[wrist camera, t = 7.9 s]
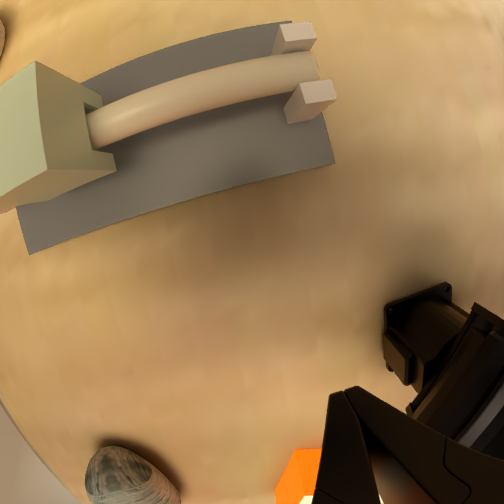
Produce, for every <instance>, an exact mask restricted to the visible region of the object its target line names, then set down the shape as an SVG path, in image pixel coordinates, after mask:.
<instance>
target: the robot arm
mask: <svg viewBox="0 0 504 504" xmlns="http://www.w3.org/2000/svg"><path fill="white" fill-rule="evenodd" d="M446 287H447V289H446ZM445 289H446V290H445ZM391 308H392V310H391V311H390V312H389V310H390V309H391ZM471 309H472V310H471V312H470V314H469V313H467V312H466V311H464V310H463V309H461V308H460V307H458V306H457V305H455V304H454V303H452V286H451V284H449V283H447V282H444V283H442V284H439V285H437V286H434V287H432V288H429V289H426V290H424V291H421V292H419V293H416V294H413V295H411V296H408V297H405V298H402V299H399V300H397V301H394V302H391V303H388V304H387V305H386V306H385V308H384V322H385V331H384V332H383V350H384V359H385V360H386V367H387V369H388V370H389V371H390V372H393V371H394V372H395V374H396V375H397V376H398V378H399V379H400V380H401V382H402V383H403V384H404V385H406V386H408V385H410V384H411V385H412V387H413V388H414V389H415V391H416V392H417V393H418V395H417V396H416V398H415V399H414V400H413V402H412V403H409V405H408V406H407V407H406V413H407V415H406V414H405V413H403V412H401V411H400V410H398V409H396V408H394V407H393V406H391V405H389V404H388V403H386V402H384V401H383V400H381V399H379V398H377V397H376V396H374V395H372V394H371V393H369V392H368V391H366V390H364V389H363V388H361V387H359V386H354V387H351V388H348V389H345V390H344V392H343V391H338V392H335V393H332V394H330V395H329V399H328V407H327V415H326V423H325V430H324V437H323V443H322V450H321V456H320V462H319V468H318V473H317V479H316V484H315V489H314V493H313V498H312V503H311V504H381V501H380V497H381V499H382V501H383V503H384V504H504V320H503V319H501V318H500V317H498V316H497V315H495V314H493V313H492V312H490V311H489V310H487V309H485V308H484V307H482V306H481V305H479V304H477V303H476V302H474V304H473V306H472V308H471ZM379 495H380V497H379Z"/></svg>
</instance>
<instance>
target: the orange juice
mask: <svg viewBox="0 0 504 504" xmlns="http://www.w3.org/2000/svg"><path fill="white" fill-rule="evenodd" d="M321 450H322V449H295V451H294V453H293V455H292V457H291V459H290V462H289V464H288V466H287V468H286V470H285V472H284V474H283V476H282V478H281V480H280V482H279V483H278V485H277V487H276V489H275V496H276V504H311V503H312V498H313V493H314V489H315V484H316V479H317V473H318V468H319V462H320V456H321ZM379 497H380V495H379ZM380 501H381V504H384V503H383V501H382V499H381V497H380Z"/></svg>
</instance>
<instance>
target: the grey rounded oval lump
mask: <svg viewBox="0 0 504 504" xmlns="http://www.w3.org/2000/svg"><path fill="white" fill-rule="evenodd" d="M85 487H86V492H87V495H88V497H89V499H90V501H91V503H92V504H181V500H180V497H179V494H178V491H177V490H176V488H175V487H174V485H173V484H172V483H171V482H170V481H169V480H168V479H167V478H166V477H165V476H164V475H163V474H162V473H161V472H160V471H159V470H158V469H157V468H156V467H154V466H153V465H152V464H150V463H149V462H148V461H146V460H145V459H143V458H142V457H140V456H139V455H137V454H135V453H134V452H132V451H131V450H128V449H125V448H122V447H119V446H107V447H104V448H101V449H100V450H98V451H97V452H96V453H95V454H94V456H93V457H92V458H91V459H90V462H89V464H88V467H87V471H86V475H85Z"/></svg>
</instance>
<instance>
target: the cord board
mask: <svg viewBox="0 0 504 504" xmlns="http://www.w3.org/2000/svg"><path fill="white" fill-rule="evenodd" d="M316 39H317V37H316V34H315V32H314V29H313V27H312V24H311V22H310V21H309V22H298V23H292V21H285V22H277V23H270V24H263V25H257V26H251V27H246V28H241V29H236V30H231V31H226V32H222V33H217V34H213V35H209V36H205V37H201V38H198V39H194V40H190V41H187V42H183V43H180V44H177V45H174V46H171V47H167V48H164V49H161V50H158V51H156V52H153V53H150V54H147V55H144V56H142V57H139V58H137V59H134V60H131V61H129V62H126V63H124V64H122V65H119V66H117V67H115V68H112V69H110V70H108V71H106V72H103V73H101V74H99V75H97V76H95V77H93V78H91V79H89V80H87V81H85V82H83V83H81V85H83V86H85V87H87V88H89V89H90V90H92V91H94V92H96V93H98V94H99V95H101V97H102V103H103V107H101V108H99V109H97V110H95V111H93V112H90V113H88V114H86V115H85V116H86V122H87V127H88V133H89V138H90V143H91V148H92V150H94V151H100V152H106V153H112V154H113V157H114V161H115V165H116V170H117V171H116V172H113V173H110V174H108V175H105V176H103V177H100V178H98V179H95V180H93V181H91V182H88V183H86V184H84V185H81V186H79V187H77V188H74V189H72V190H70V191H68V192H65V193H63V194H61V195H59V196H57V197H55V198H52V199H50V200H48V201H42V202H36V203H31V204H25V205H20V206H15V207H16V210H17V214H18V218H19V222H20V226H21V229H22V233H23V236H24V240H25V243H26V247H27V250H28V253H29V255H31V254H34V253H36V252H38V251H41V250H43V249H46V248H49V247H51V246H54V245H56V244H59V243H62V242H64V241H67V240H69V239H72V238H75V237H78V236H80V235H83V234H86V233H89V232H91V231H94V230H97V229H100V228H103V227H106V226H108V225H111V224H114V223H117V222H120V221H123V220H126V219H129V218H132V217H135V216H138V215H141V214H145V213H148V212H151V211H154V210H157V209H160V208H164V207H167V206H170V205H173V204H177V203H180V202H184V201H187V200H190V199H194V198H197V197H201V196H204V195H208V194H211V193H215V192H219V191H222V190H226V189H230V188H234V187H237V186H241V185H245V184H249V183H253V182H257V181H261V180H265V179H269V178H273V177H277V176H281V175H286V174H290V173H294V172H299V171H303V170H308V169H312V168H317V167H322V166H326V165H331V164H335V160H334V155H333V151H332V147H331V144H330V140H329V136H328V132H327V128H326V125H325V121H324V118H323V114H322V111H323V110H324V109H326V108H327V107H328V106H330V105H331V104H332V103H333V102H335V101H336V100H337V99H338V98H337V95H336V92H335V89H334V86H333V82H332V79H326V80H319V70H318V66H317V62H316V60H315V57H314V56H313V54H312V53H311V52H310V49H311V48H312V46H313V44H314V42H315V41H316ZM15 207H10V208H5V209H0V214H1V213H6V212H8V211H10V210H12V209H14V208H15Z"/></svg>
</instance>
